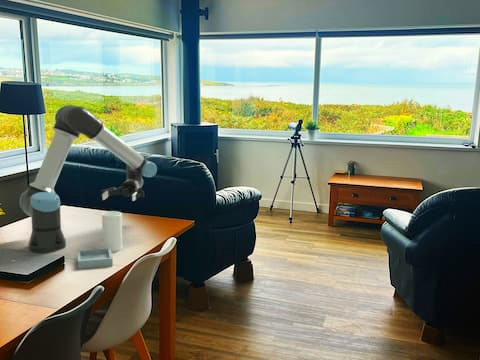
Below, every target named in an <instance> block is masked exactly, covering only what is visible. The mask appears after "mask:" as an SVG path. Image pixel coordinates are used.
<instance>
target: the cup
mask: <svg viewBox="0 0 480 360" xmlns="http://www.w3.org/2000/svg"><path fill="white" fill-rule="evenodd" d="M101 219H102V220H101V222H102V223H101V224H102V225H101V227H102V248H110V249H111V253H114V252H119V251H121V250H122V249H123V214H122V212H121V211H117V210H109V211H104V212H103V213H101Z"/></svg>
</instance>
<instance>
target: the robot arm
mask: <svg viewBox="0 0 480 360" xmlns="http://www.w3.org/2000/svg"><path fill="white" fill-rule="evenodd" d="M54 121H55V122H54V125H53V128H52V129H53V131H54V135H53V137H52V139H51V142H50V144H49V146H48V149H47V151H46V153H45V156H44V159H43V161H42V164H41V165H40V167H39V170H38V172H37V175H36V177H35V180H34V182H31V183H29V184H28V188H27V190H25V191H24V192H23V193H22V194H21V196H20V198H19V206H20V208H21V210H22V212H23V213H24V214H25V215H26V216H28V217H30V218H31V234H30V237H29V240H28V243H27V244H28V250H29V251H30V250H31V252H33V251H37V252H36V253H50V252H56V251H60V250H62V249H65V248H66V246H67V245H66V244H67V242H66V238H65V236H64V233H63V230H62V226H61V225H62V220H61V200H60V199H61V198H60V197H59V195H58V194H57V193H56V191H55V185H56V183H57V181H58V178H59V176H60V174H61V171H62V168H63V166H64V165H65V161H66V159H67V156H68V155H69V153H70V149H71V147H72V145H73V142H74V141H75V140H77V139H79V137H80V134H81V135H83V136H85V137H86V138H88V139H89V140H94V141H96V142H97V143H98V144H100V145H101V146H102V147H104V148H105V149H106V150H108V151H109V152H111V153H112V154H113V155H114V156H116V157H117V158H118V159H120V160H121V161H122V162H124V163H125V164H126V181H124V182H123V183H122V184H121V185H120V186H119V187H116V186H113V187H110V188H106V189H102V190H100V196H101V197H102V201H105V200H106V199H108V197H111V196H115V195H117V196H124V197H127V198H128V197H132V198H131V200H132V202H134V201H136V200H137V199H138V198H145V191H144V190H143V189H142V187H143V185H144V179H143V177H146V178H152V177H154V176H156V174H157V171H158V168H157V165H156V163H154V162H152V161H149V160H148V159H146V157H145V156H143V155H141V153H139V152H138V151H137V150H135V149H134V148H133V147H131V146H130V145H129V144H128V143H127V142H125V141H124V140H123V139H121V138H120V137H119V136H118V135H116V134H115V133H113V132H112V131H111V130H110V129H109V128H108V127H106V126H105V123H104V121H102V120H101V119H99V118H98V117H97V115H95V114H94V113H92V112H91V111H90V110H89V109H87V108H85V107H84V106H78V105H73V104H69V105H63V106H61V107H60V108H58V109H57V110H56V112H55V116H54ZM142 176H143V177H142Z"/></svg>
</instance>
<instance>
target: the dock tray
mask: <svg viewBox="0 0 480 360" xmlns="http://www.w3.org/2000/svg"><path fill="white" fill-rule="evenodd" d="M113 264H114V263H113V255H112V252H111V249H110V248H103V247H102V248H91V249H80V250H77V269H90V268H101V267H113Z"/></svg>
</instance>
